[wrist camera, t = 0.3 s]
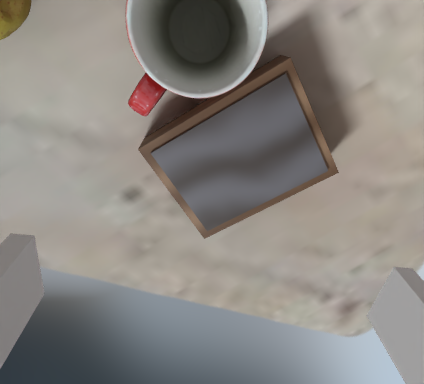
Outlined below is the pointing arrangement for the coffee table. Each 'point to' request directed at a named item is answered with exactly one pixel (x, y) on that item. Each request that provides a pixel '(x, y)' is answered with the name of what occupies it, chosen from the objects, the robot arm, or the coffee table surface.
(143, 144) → the stand
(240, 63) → the mug
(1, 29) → the fruit
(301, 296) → the coffee table surface
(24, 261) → the robot arm
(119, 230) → the coffee table surface
